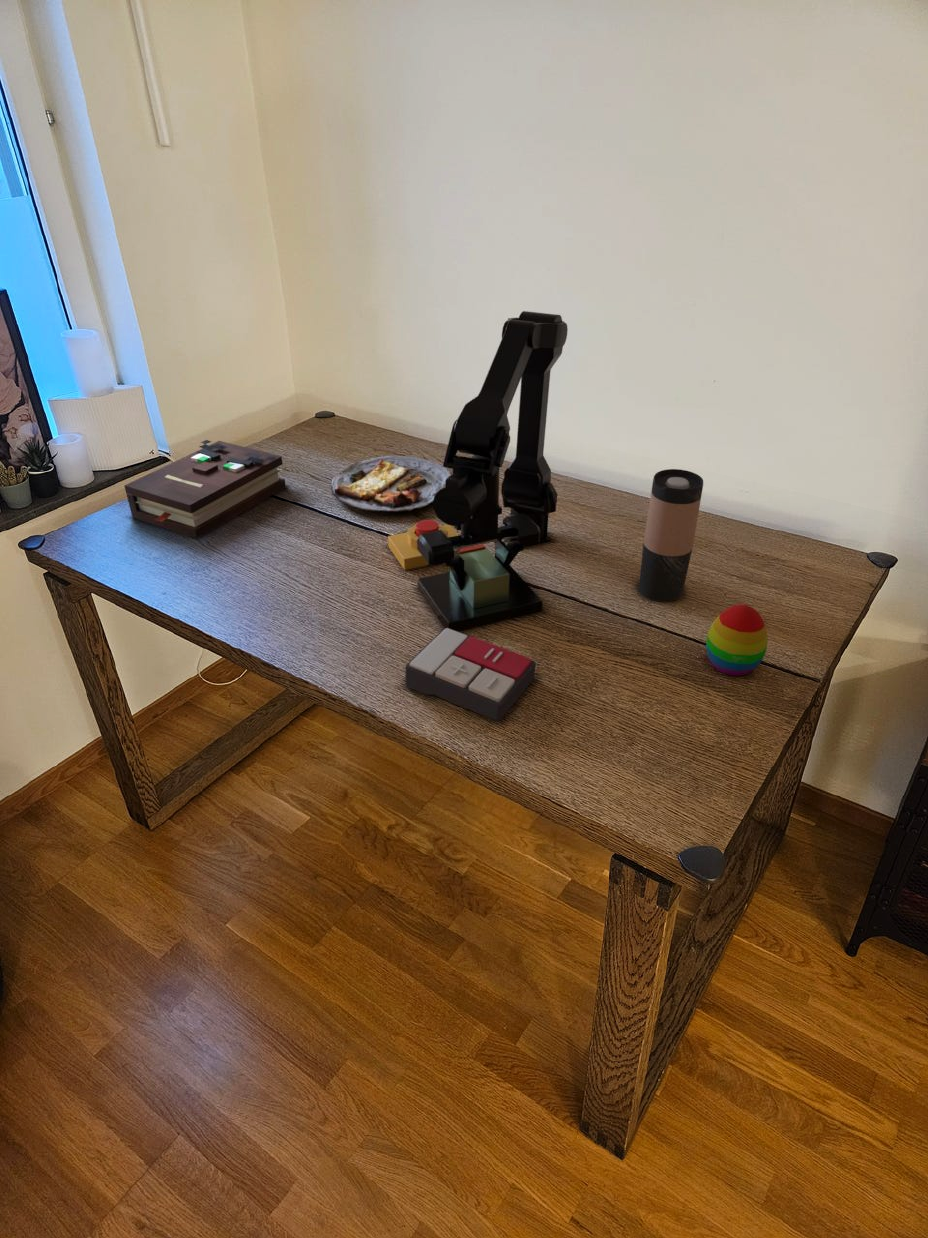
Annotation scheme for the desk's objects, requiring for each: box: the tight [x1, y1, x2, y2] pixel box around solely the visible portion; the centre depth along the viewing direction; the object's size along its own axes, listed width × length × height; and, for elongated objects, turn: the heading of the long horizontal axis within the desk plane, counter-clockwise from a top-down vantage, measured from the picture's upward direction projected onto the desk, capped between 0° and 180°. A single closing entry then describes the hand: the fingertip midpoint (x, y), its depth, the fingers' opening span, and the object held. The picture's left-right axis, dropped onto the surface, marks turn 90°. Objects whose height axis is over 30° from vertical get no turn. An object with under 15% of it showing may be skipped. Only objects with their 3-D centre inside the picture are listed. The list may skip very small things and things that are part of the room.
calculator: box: [404, 627, 537, 722], centre depth 113 cm, size 11×4×15 cm
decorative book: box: [123, 439, 287, 539], centre depth 159 cm, size 19×8×30 cm
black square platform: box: [416, 564, 543, 632], centre depth 131 cm, size 16×14×2 cm
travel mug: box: [638, 468, 704, 603], centre depth 128 cm, size 8×8×20 cm
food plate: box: [330, 455, 453, 514], centre depth 164 cm, size 25×23×4 cm
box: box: [449, 544, 509, 609], centre depth 129 cm, size 10×6×5 cm, turn 22°
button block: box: [387, 524, 467, 571], centre depth 144 cm, size 12×9×4 cm
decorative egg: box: [705, 603, 768, 677], centre depth 114 cm, size 8×8×10 cm
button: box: [415, 519, 440, 537], centre depth 142 cm, size 4×4×2 cm
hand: (478, 585), depth 130 cm, fingers closed on box, 6 cm apart
